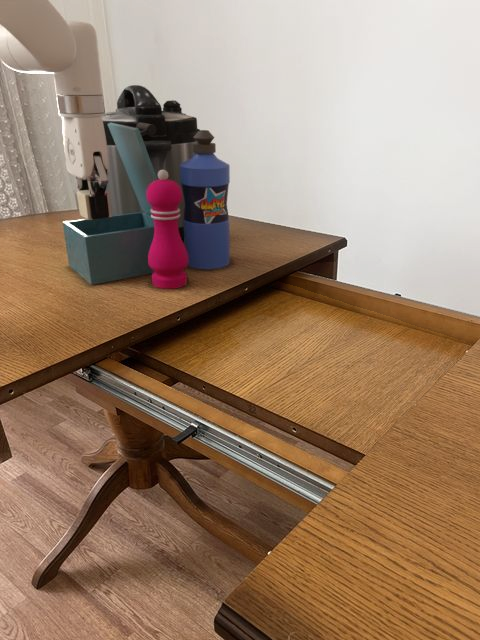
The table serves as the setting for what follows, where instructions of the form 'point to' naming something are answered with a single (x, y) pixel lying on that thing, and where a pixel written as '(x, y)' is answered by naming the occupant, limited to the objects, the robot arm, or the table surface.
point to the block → (84, 204)
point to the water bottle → (206, 205)
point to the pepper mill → (166, 234)
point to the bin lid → (135, 157)
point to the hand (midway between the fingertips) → (95, 214)
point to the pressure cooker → (148, 145)
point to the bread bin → (110, 246)
